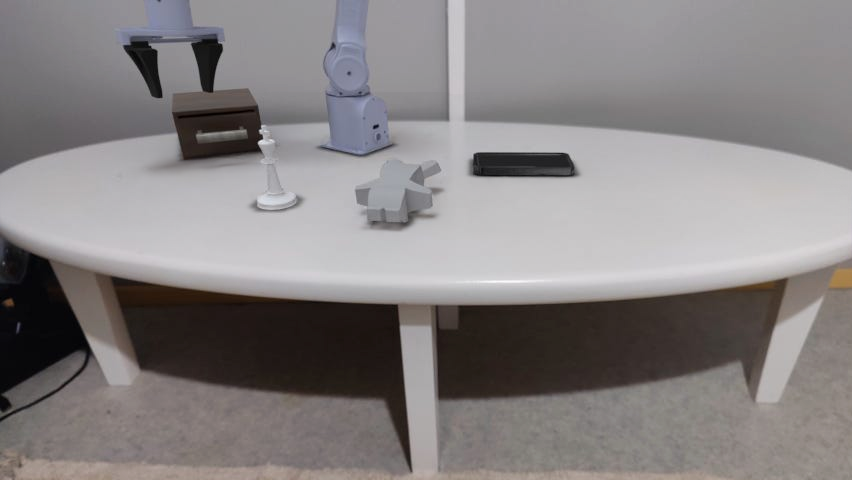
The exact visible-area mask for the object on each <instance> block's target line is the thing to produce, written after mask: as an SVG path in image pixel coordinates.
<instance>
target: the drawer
mask: <svg viewBox="0 0 852 480" xmlns="http://www.w3.org/2000/svg"><path fill="white" fill-rule="evenodd" d="M178 123H179V127H180V131H181V135H182V139H183V143H184V147H185V151H186V155H187V157H190V156H199V155H208V154H217V153H226V152H235V151H244V150H253V149H261V148H260V147H259V145H258V142H259V141H260V140H261V137H260V133H259V126H258V120H257V115H256V112H251V111H250V110H246V111H234V112H223V113H211V114H199V115H188V116H182V118H178Z"/></svg>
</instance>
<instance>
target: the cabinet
mask: <svg viewBox="0 0 852 480" xmlns="http://www.w3.org/2000/svg"><path fill="white" fill-rule="evenodd" d="M171 101H172V103H171V115H172V118H173V123H174V126H175V130H176V134H177V138H178V142H179V146H180V150H181V155H182V157H183V160H193V159H200V158H201V159H202V158H209V157H211V158H212V157H218V156H219V157H220V156H227V155H228V156H229V155H236V154H246V153H255V152H262V150H261V149H253V150H244V151H235V152H226V153H217V154H208V155H199V156H190V157H187V155H186V151H185V147H184V143H183V139H182V135H181V131H180V127H179V123H178V118H182V116H188V115H199V114H211V113H223V112H234V111H246V110H250V111H251V112H256V115H257V120H258V126H259V130H262V129H261V126H263V124H262V121H261V114H260V109H259V105H258V103H257V101H256V99H255V98H254V96H253V94H252V92H251V90H250V88H249V87H247V88H245V87H243V88H233V89H218V90H213V93H208V92H204V91H189V92H177V93H176V92H175V93H172V100H171ZM260 137H261V140H263V135H262V134H260Z"/></svg>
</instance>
